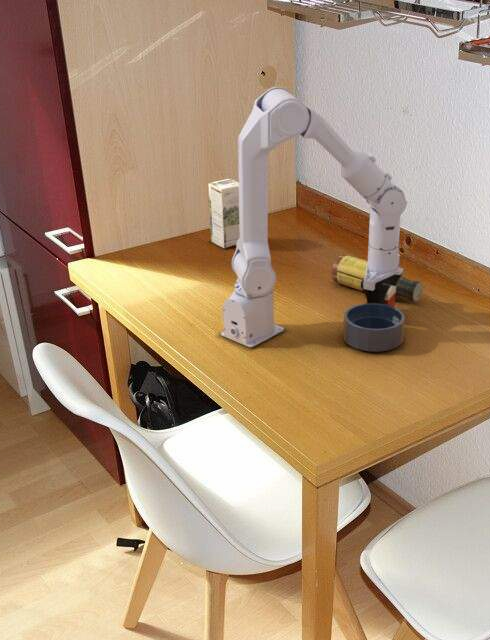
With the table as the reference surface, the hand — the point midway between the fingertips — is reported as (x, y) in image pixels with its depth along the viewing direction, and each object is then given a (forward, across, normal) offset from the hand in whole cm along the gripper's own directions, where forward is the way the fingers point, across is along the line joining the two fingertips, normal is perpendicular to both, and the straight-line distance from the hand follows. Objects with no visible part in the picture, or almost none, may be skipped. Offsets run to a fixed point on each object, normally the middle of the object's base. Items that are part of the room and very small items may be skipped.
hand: (380, 309), depth 164 cm
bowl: (+1, -10, -2) cm, 10 cm away
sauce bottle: (-2, +12, +14) cm, 19 cm away
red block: (+1, 0, 0) cm, 1 cm away
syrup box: (+2, +21, +46) cm, 51 cm away
